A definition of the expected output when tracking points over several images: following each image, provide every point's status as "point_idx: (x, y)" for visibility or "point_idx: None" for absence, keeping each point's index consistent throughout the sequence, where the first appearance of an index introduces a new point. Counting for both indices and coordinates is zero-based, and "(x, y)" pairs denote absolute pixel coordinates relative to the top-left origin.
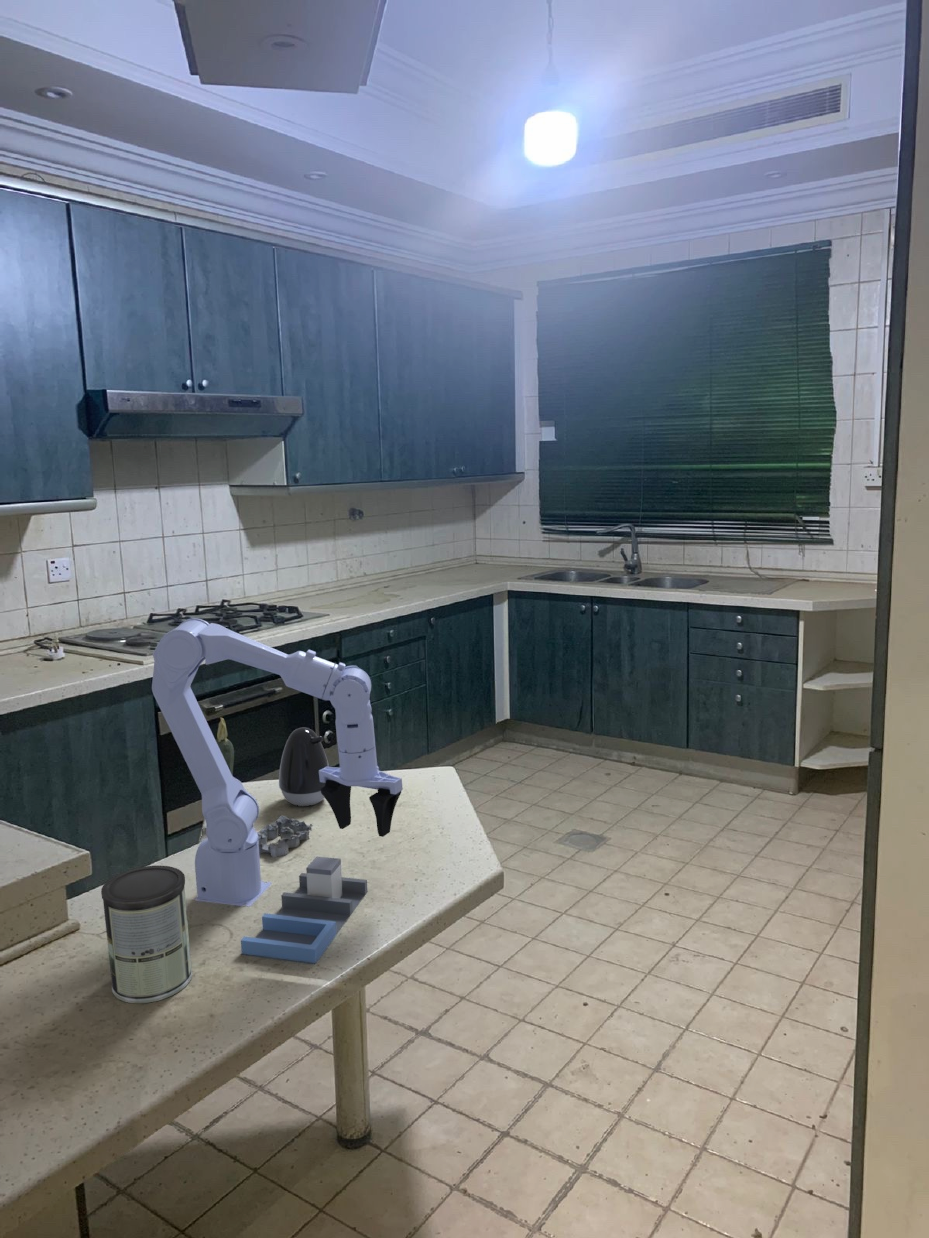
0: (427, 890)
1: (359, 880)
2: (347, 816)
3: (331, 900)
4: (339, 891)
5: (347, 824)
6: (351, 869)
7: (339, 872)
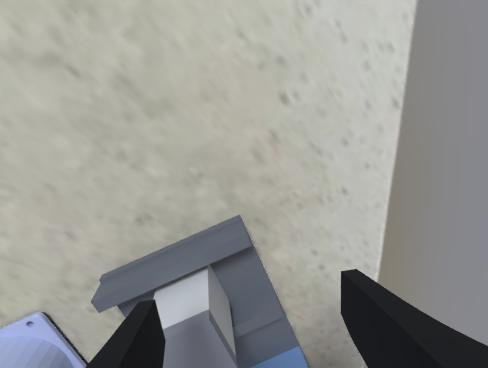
0: (335, 125)
1: (233, 246)
2: (147, 344)
3: (246, 331)
4: (214, 280)
5: (158, 320)
6: (115, 152)
7: (213, 304)
